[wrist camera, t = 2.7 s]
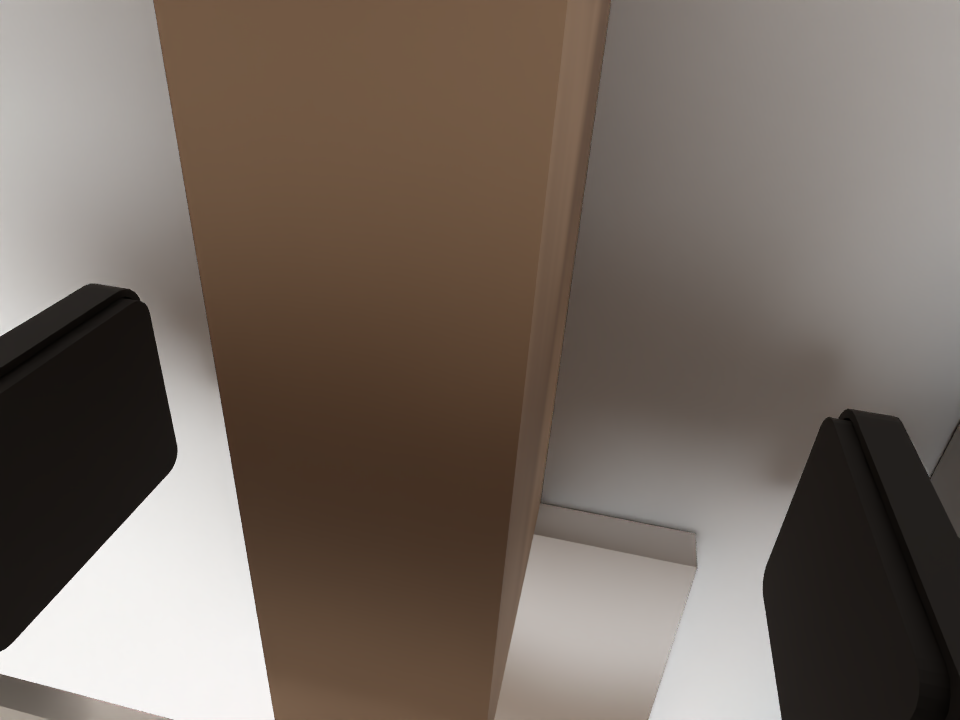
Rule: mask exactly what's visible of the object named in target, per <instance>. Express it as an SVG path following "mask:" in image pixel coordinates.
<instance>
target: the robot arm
mask: <svg viewBox="0 0 960 720" xmlns="http://www.w3.org/2000/svg"><path fill="white" fill-rule="evenodd" d="M176 458H177V443H176V438H175V433H174V429H173V424H172V419H171V414H170V409H169V404H168V399H167V395H166V390H165V385H164V380H163V375H162V370H161V365H160V361H159V356H158V351H157V346H156V341H155V336H154V331H153V327H152V322H151V317H150V312H149V309H148V307H147V306H146V304H145V303H143V302H141V301H140V298H139V297H138V295H137V294H136V293H135V292H134V291H132V290H130V289H125V288H119V287H113V286H107V285H101V284H88V285H86V286H83V287H82V288H80V289H79V290H77V291H75V292H74V293H72V294H70V295H69V296H67V297H65V298H64V299H62V300H60V301H59V302H57V303H55V304H54V305H52V306H50V307H49V308H47V309H45V310H44V311H42V312H40V313H39V314H37V315H35V316H34V317H32V318H30V319H29V320H27V321H25V322H24V323H22V324H20V325H19V326H17V327H16V328H14V329H12V330H11V331H9V332H7V333H6V334H4V335H2V336H1V337H0V651H2V650H4V649H6V648H7V647H8V646H9V645H10V644H12V643H13V642H14V641H15V639H16V638H17V637H18V636H19V635H20V634H21V633H22V632H23V631H24V630H25V629H26V628H27V626H28V625H29V624H30V623H31V622H32V621H33V620H34V619H35V618H36V617H37V616H38V615H39V613H40V612H41V611H42V610H43V609H44V608H45V607H46V606H47V605H48V604H49V603H50V602H51V600H52V599H53V598H54V597H55V596H56V595H57V594H58V593H59V592H60V591H61V590H62V588H63V587H64V586H65V585H66V584H67V583H68V582H69V581H70V580H71V579H72V578H73V577H74V575H75V574H76V573H77V572H78V571H79V570H80V569H81V568H82V567H83V566H84V565H85V564H86V562H87V561H88V560H89V559H90V558H91V557H92V556H93V555H94V554H95V553H96V552H97V551H98V549H99V548H100V547H101V546H102V545H103V544H104V543H105V542H106V541H107V540H108V539H109V538H110V536H111V535H112V534H113V533H114V532H115V531H116V530H117V529H118V528H119V527H120V526H121V524H122V523H123V522H124V521H125V520H126V519H127V518H128V517H129V516H130V515H131V514H132V513H133V511H134V510H135V509H136V508H137V507H138V506H139V505H140V504H141V503H142V502H143V501H144V500H145V498H146V497H147V496H148V495H149V494H150V493H151V492H152V491H153V490H154V489H155V488H156V487H157V485H158V484H159V483H160V482H161V481H162V480H163V479H164V478H165V477H166V476H167V475H168V474H169V472H170V471H171V470H172V468H173V466H174V464H175V461H176ZM763 598H764V605H765V611H766V618H767V624H768V631H769V638H770V644H771V651H772V657H773V664H774V671H775V677H776V684H777V691H778V697H779V704H780V710H781V717H782V720H960V538H959V537H958V536H957V534H956V532H955V530H954V527H953V525H952V523H951V521H950V519H949V517H948V515H947V513H946V511H945V509H944V507H943V505H942V503H941V501H940V499H939V497H938V495H937V493H936V491H935V489H934V487H933V485H932V483H931V481H930V479H929V477H928V474H927V472H926V470H925V468H924V466H923V464H922V462H921V460H920V458H919V456H918V454H917V452H916V450H915V448H914V446H913V444H912V442H911V440H910V438H909V436H908V434H907V432H906V430H905V428H904V426H903V424H902V422H901V421H900V419H899V418H897V417H894V416H888V415H882V414H876V413H870V412H864V411H858V410H852V409H847V410H845V411H843V413H842V414H841V415H840V417H839V419H836V418H830V417H828V418H826V419H825V420H824V421H823V423H822V425H821V427H820V429H819V432H818V435H817V437H816V440H815V442H814V445H813V447H812V450H811V453H810V455H809V458H808V460H807V463H806V465H805V468H804V470H803V473H802V476H801V478H800V481H799V483H798V486H797V488H796V491H795V494H794V496H793V499H792V501H791V504H790V506H789V509H788V512H787V514H786V517H785V519H784V522H783V524H782V527H781V529H780V532H779V535H778V537H777V540H776V542H775V545H774V547H773V550H772V553H771V555H770V558H769V560H768V563H767V565H766V569H765V573H764V579H763ZM0 720H172V719H169V718H165V717H161V716H157V715H154V714H150V713H146V712H142V711H139V710H135V709H131V708H127V707H124V706H120V705H116V704H112V703H109V702H105V701H101V700H97V699H94V698H90V697H86V696H82V695H79V694H75V693H71V692H67V691H63V690H60V689H56V688H52V687H48V686H44V685H40V684H37V683H33V682H29V681H25V680H21V679H18V678H14V677H10V676H6V675H2V674H0Z"/></svg>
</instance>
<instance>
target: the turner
mask: <svg viewBox="0 0 960 720" xmlns="http://www.w3.org/2000/svg"><path fill="white" fill-rule="evenodd" d="M153 1H154V7H155V13H156V19H157V25H158V31H159V37H160V43H161V49H162V55H163V61H164V67H165V72H166V78H167V84H168V90H169V96H170V102H171V108H172V114H173V120H174V126H175V132H176V138H177V143H178V149H179V155H180V161H181V167H182V173H183V179H184V185H185V191H186V197H187V203H188V209H189V215H190V220H191V226H192V232H193V238H194V244H195V250H196V256H197V262H198V268H199V274H200V280H201V286H202V291H203V297H204V303H205V309H206V315H207V321H208V327H209V333H210V339H211V345H212V351H213V357H214V362H215V368H216V374H217V380H218V386H219V392H220V398H221V404H222V410H223V416H224V422H225V428H226V434H227V439H228V445H229V451H230V457H231V463H232V469H233V475H234V481H235V487H236V493H237V499H238V505H239V510H240V516H241V522H242V528H243V534H244V540H245V546H246V552H247V558H248V564H249V570H250V576H251V581H252V587H253V593H254V599H255V605H256V611H257V617H258V623H259V629H260V635H261V641H262V647H263V653H264V658H265V664H266V670H267V676H268V682H269V688H270V694H271V700H272V706H273V712H274V718H275V720H648V718H649V715H650V712H651V709H652V706H653V703H654V700H655V697H656V694H657V691H658V688H659V684H660V681H661V678H662V675H663V672H664V669H665V666H666V663H667V660H668V657H669V654H670V650H671V647H672V644H673V641H674V638H675V635H676V632H677V629H678V626H679V623H680V620H681V616H682V613H683V610H684V607H685V604H686V601H687V598H688V595H689V592H690V589H691V586H692V582H693V579H694V576H695V573H696V570H697V551H696V533H691V532H686V531H680V530H675V529H670V528H665V527H660V526H655V525H650V524H645V523H639V522H634V521H629V520H624V519H619V518H614V517H609V516H604V515H598V514H593V513H588V512H583V511H578V510H573V509H568V508H562V507H557V506H552V505H547V504H542V503H540V502H541V495H542V488H543V481H544V474H545V467H546V459H547V452H548V445H549V438H550V431H551V424H552V417H553V410H554V403H555V396H556V389H557V381H558V374H559V367H560V360H561V353H562V346H563V339H564V332H565V325H566V318H567V311H568V303H569V296H570V289H571V282H572V275H573V268H574V261H575V254H576V247H577V240H578V233H579V225H580V218H581V211H582V204H583V197H584V190H585V183H586V176H587V169H588V162H589V155H590V148H591V140H592V133H593V126H594V119H595V112H596V105H597V98H598V91H599V84H600V77H601V70H602V62H603V55H604V48H605V41H606V34H607V27H608V20H609V13H610V6H611V0H153Z"/></svg>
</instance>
